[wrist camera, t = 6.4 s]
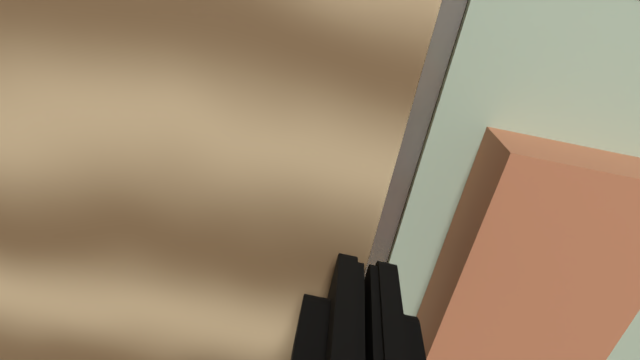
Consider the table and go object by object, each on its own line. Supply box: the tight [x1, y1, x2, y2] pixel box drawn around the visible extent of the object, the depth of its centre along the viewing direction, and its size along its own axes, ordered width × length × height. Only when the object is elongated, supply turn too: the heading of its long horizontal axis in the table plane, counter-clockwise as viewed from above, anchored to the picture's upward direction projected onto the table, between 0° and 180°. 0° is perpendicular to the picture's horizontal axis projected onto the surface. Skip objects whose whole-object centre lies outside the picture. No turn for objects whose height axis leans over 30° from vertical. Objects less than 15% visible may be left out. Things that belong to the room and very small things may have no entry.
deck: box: [0, 0, 442, 360], centre depth 15 cm, size 16×13×4 cm
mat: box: [387, 0, 640, 360], centre depth 16 cm, size 18×12×1 cm, turn 170°
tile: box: [416, 127, 640, 360], centre depth 15 cm, size 9×6×2 cm, turn 170°
